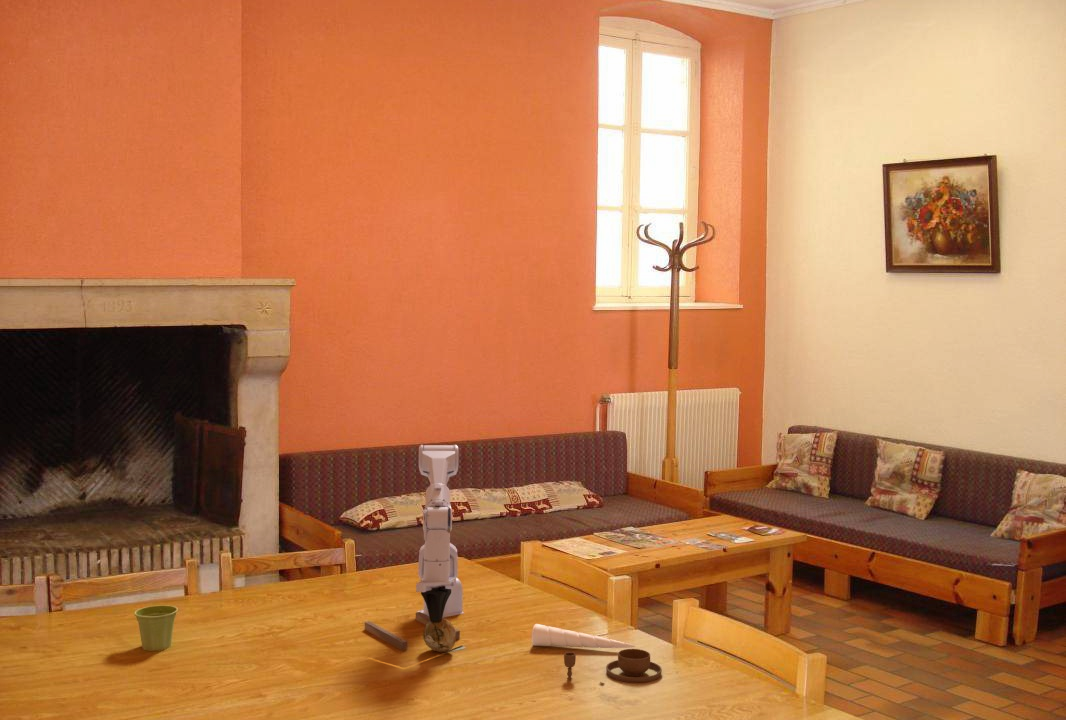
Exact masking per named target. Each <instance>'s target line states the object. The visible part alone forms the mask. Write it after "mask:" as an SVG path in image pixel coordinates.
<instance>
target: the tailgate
mask: <svg viewBox="0 0 1066 720" xmlns="http://www.w3.org/2000/svg"><path fill="white" fill-rule="evenodd" d="M466 649H467V647H466V646H464V645H460V646H457V647H453V648H452V649H450V650H449V651H446V652H440V655H441V654H446V653H452V652H457V651H461V650H466Z"/></svg>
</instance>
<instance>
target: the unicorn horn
mask: <svg viewBox="0 0 1066 720" xmlns="http://www.w3.org/2000/svg"><path fill="white" fill-rule="evenodd" d="M531 644H532V645H533V646H538V647H539V646H541V647H561V648H562V647H563V648H565V647H566V648H567V647H569V648H589V649H591V648H592V649H596V648H598V649H599V648H600V649H633V648H635V647H636V646H635V644H634V645H633V644H631V643H629V642H628V643H627V642H623V641H619V640H615V639H611V638H607V637H602V636H597V635H592V634H587V633H584V632H577V631H574V630H568V629H562V628H560V627H554V626H549V625H548V626H547V625H544V624H539V623H535V624H534V625H533V627H532V631H531Z"/></svg>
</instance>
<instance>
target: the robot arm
mask: <svg viewBox="0 0 1066 720" xmlns="http://www.w3.org/2000/svg"><path fill="white" fill-rule="evenodd" d="M459 453H460V452H459V446H458V445H457V444H453V445H452V444H450V445H448V444H445V445H440V444H438V445H437V444H435V445H432V444H431V445H430V444H429V445H427V444H425V445H424V444H420V445H419V447H418V468H419V473H420V475H422V476H424V477H426V478H428V480H429V483H430V485H429V486H428V487H427V488H426V490H425V498H424V499H425V501H424V502H425V503H424V504H425V505H424V509H423V511H422V530H423V541H424V544H423V545H421V546H420V549H419V551H418V552H419V555H418V577H419V582H416V584H415V591H416V593H420V594H421V596H422V598H423V609H422V610H421V609H420V610H417V611H416V612H421V613H423V614H426V615H428V616H429V617H430V621H431V622H441V620H442V618H448V617H451V616H452V617H453V616H456V615H457V616H458V615H462V614H463V615H464V614H465V612H464V611H463V608H464V606H463V602H464V601H463V600H464V599H463V595H464V594H463V593H464V591H463V584H462V582H461V579H459V578H458V573H459V572H458V571H459V569H458V568H459V567H458V549H457V547H456V546H455V545H454V544H453V543H451V542H450V541H451V532H452V529H453V510H452V504H451V490H450V489H449V487H448V482H449V480H450V477H454V476H456V475H457V473H458V472H459V471H458V470H459V461H460V460H459V459H460V458H459ZM448 528H449V529H448ZM449 531H450V532H449Z"/></svg>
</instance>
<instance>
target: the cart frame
mask: <svg viewBox="0 0 1066 720" xmlns="http://www.w3.org/2000/svg"><path fill="white" fill-rule="evenodd" d="M415 620H416V621H417V622H419V623H421V624H423V625H425V626H426V625H427V624H428V623H429V622H430V617H429V616H428V615H426V614H423V613H421V612H417V611H416V612H415ZM364 631H366V632H368V633H370V634H372V635H374V636H375V637H377V638H378V639H380V640H382V641H384V642H385V643H388V644H390V645H391V646H392V647H394V648H396V649H398V650H400V651H402V652H405V651H408V641H407V640H406V639H403V638H401V637H399V636H398V635H396V634H394V633H392V632H390V631H388V630H387V629H385V628H383V627H381V626H379V625H377V624H376V623H374V622H371V621H369V620H368V621H364ZM455 631H456V640H460V639H461V636H460V635H461V633H460V632H461V631H460V630H458V629H456V628H455Z"/></svg>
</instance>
